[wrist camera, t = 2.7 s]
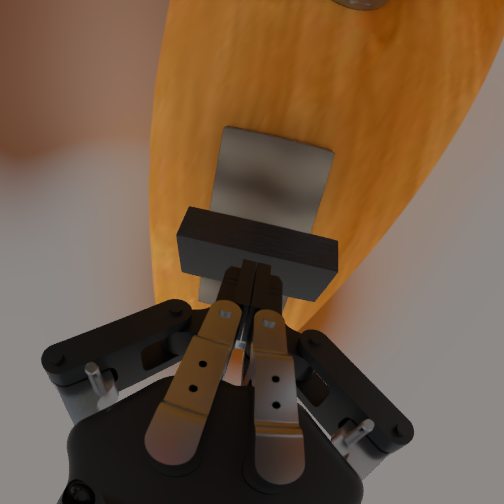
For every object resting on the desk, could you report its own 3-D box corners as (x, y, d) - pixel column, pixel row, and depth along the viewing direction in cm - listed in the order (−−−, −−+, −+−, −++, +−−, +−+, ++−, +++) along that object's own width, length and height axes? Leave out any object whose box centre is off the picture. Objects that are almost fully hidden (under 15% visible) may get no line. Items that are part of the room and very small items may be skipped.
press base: (227, 126, 28) (199, 134, 19) (331, 150, 28) (356, 171, 19) (201, 292, 40) (180, 347, 31) (279, 310, 40) (277, 369, 31)
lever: (197, 188, 17) (176, 235, 14) (337, 220, 17) (337, 272, 14) (202, 313, 34) (194, 341, 32) (271, 328, 34) (266, 357, 32)
